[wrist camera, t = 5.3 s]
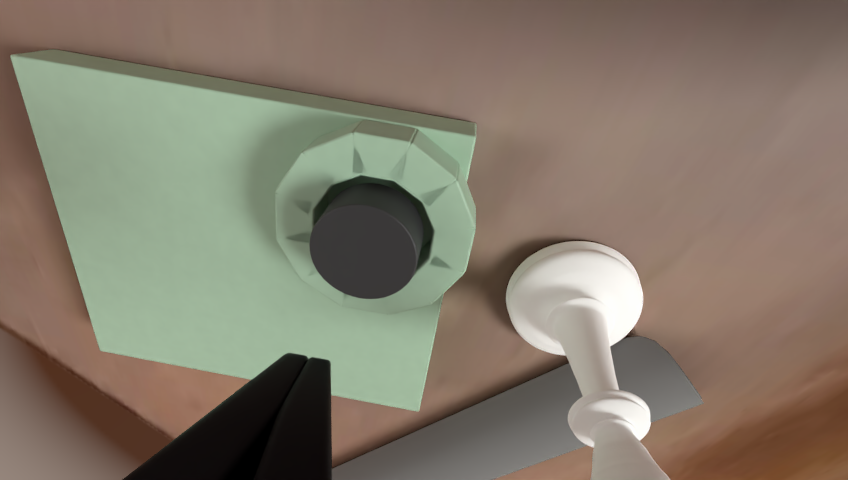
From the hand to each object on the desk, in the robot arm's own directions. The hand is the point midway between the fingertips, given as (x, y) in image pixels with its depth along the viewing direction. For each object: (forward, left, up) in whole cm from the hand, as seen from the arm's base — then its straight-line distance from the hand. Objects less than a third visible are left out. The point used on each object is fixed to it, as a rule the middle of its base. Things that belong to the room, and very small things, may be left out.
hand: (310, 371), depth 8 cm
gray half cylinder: (-6, +12, -9) cm, 16 cm away
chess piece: (-7, +3, -9) cm, 12 cm away
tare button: (0, 0, -6) cm, 6 cm away
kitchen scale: (+4, +3, -8) cm, 10 cm away
